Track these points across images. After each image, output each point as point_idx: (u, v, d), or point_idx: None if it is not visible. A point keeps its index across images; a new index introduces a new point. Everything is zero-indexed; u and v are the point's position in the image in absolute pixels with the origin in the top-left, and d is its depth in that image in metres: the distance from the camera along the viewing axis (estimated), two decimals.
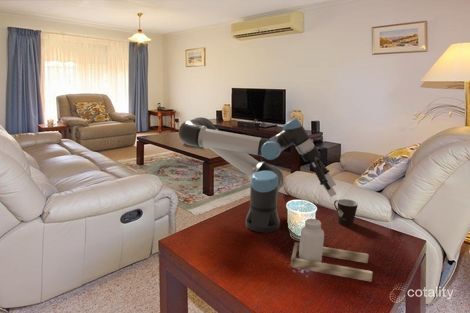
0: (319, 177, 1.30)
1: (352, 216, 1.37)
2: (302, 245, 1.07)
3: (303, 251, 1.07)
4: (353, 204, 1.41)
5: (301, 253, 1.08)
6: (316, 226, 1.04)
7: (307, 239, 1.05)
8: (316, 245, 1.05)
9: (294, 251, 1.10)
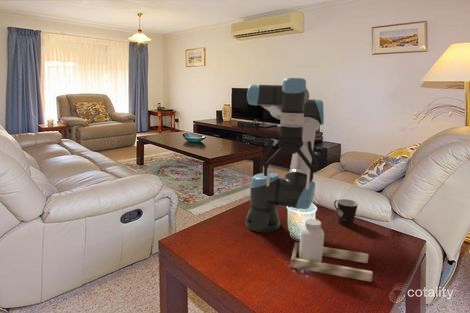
0: None
1: (352, 216, 1.37)
2: (302, 245, 1.07)
3: (303, 251, 1.07)
4: (353, 204, 1.41)
5: (301, 253, 1.08)
6: (316, 226, 1.04)
7: (307, 239, 1.05)
8: (316, 245, 1.05)
9: (294, 251, 1.10)
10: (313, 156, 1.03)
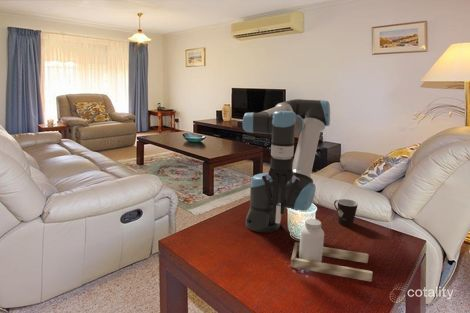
0: None
1: (352, 216, 1.37)
2: (302, 245, 1.07)
3: (303, 251, 1.07)
4: (353, 204, 1.41)
5: (301, 253, 1.08)
6: (316, 226, 1.04)
7: (307, 239, 1.05)
8: (316, 245, 1.05)
9: (294, 251, 1.10)
10: (291, 192, 1.06)
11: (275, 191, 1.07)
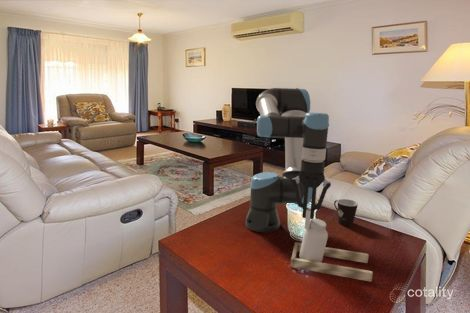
0: None
1: (352, 216, 1.37)
2: (304, 244, 1.06)
3: (305, 250, 1.06)
4: (353, 204, 1.41)
5: (302, 252, 1.07)
6: (321, 227, 1.03)
7: (310, 239, 1.04)
8: (319, 245, 1.04)
9: (294, 251, 1.10)
10: (322, 197, 1.02)
11: (305, 195, 1.04)
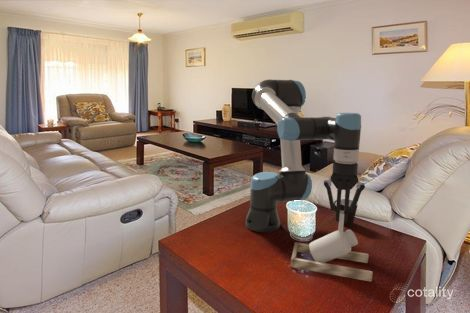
0: None
1: (352, 216, 1.37)
2: (326, 242, 1.04)
3: (322, 246, 1.04)
4: None
5: (318, 245, 1.06)
6: (354, 243, 1.01)
7: (336, 244, 1.02)
8: (337, 253, 1.02)
9: (294, 251, 1.10)
10: (356, 199, 0.99)
11: (338, 198, 1.01)
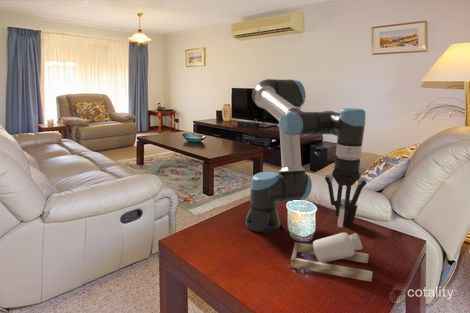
0: None
1: (352, 216, 1.37)
2: (332, 241, 1.05)
3: (327, 245, 1.05)
4: None
5: (323, 243, 1.06)
6: (359, 246, 1.02)
7: (342, 244, 1.02)
8: (341, 254, 1.03)
9: (294, 251, 1.10)
10: (357, 195, 1.00)
11: (339, 193, 1.01)
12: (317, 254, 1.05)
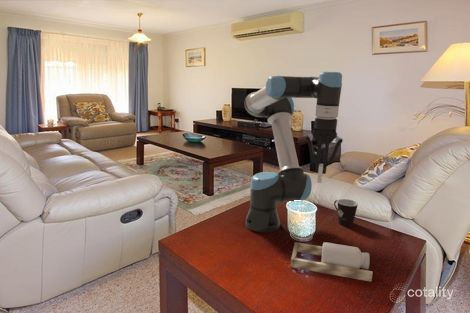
0: None
1: (352, 216, 1.37)
2: (343, 255, 1.02)
3: (337, 256, 1.03)
4: (353, 204, 1.41)
5: (333, 253, 1.03)
6: (367, 268, 1.02)
7: (353, 262, 1.01)
8: None
9: (294, 251, 1.10)
10: (334, 152, 1.09)
11: (318, 151, 1.11)
12: (324, 260, 1.04)
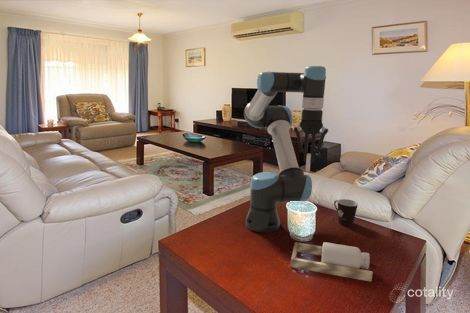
0: None
1: (352, 216, 1.37)
2: (343, 255, 1.02)
3: (337, 256, 1.03)
4: (353, 204, 1.41)
5: (333, 253, 1.03)
6: (367, 268, 1.02)
7: (353, 262, 1.01)
8: None
9: (294, 251, 1.10)
10: (321, 142, 1.16)
11: (306, 141, 1.18)
12: (324, 260, 1.04)
